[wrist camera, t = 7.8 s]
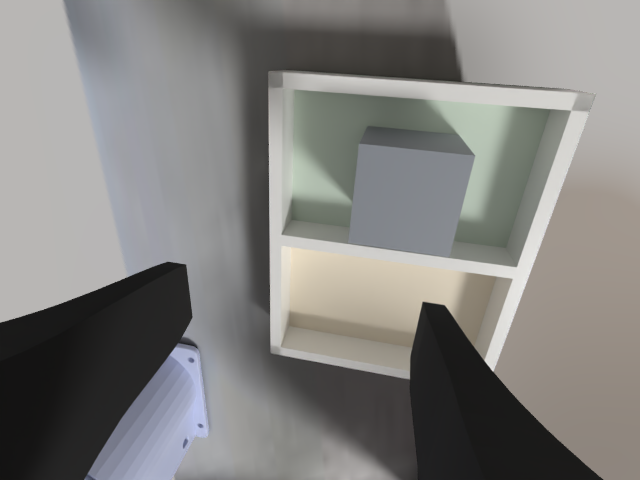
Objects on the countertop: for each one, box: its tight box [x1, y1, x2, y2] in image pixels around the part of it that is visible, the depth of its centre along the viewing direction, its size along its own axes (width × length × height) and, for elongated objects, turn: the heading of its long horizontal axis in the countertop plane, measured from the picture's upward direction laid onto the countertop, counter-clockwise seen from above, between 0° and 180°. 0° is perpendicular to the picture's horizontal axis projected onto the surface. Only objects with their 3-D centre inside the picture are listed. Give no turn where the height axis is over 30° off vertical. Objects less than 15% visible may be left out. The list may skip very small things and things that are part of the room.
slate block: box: [348, 126, 475, 257], centre depth 15 cm, size 4×4×4 cm
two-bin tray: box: [268, 70, 596, 379], centre depth 18 cm, size 15×12×2 cm
